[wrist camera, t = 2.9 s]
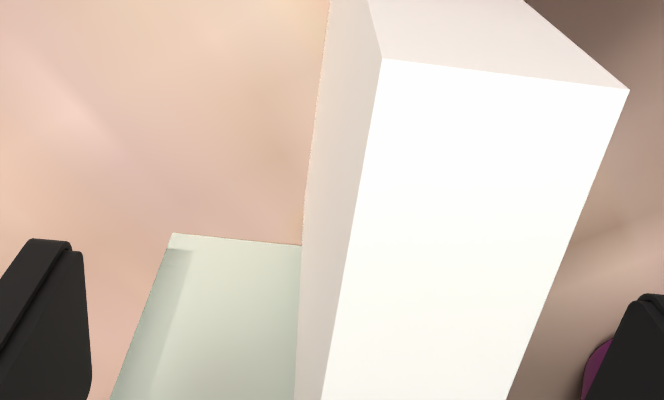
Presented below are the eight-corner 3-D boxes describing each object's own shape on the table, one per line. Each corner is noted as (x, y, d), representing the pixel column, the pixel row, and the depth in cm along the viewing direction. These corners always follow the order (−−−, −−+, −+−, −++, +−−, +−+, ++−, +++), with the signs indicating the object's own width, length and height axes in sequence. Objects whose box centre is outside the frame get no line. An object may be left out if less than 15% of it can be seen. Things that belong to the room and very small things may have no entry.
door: (342, -95, 18) (382, 58, 6) (457, -78, 18) (729, 102, 6) (304, 201, 23) (282, 612, 11) (394, 210, 23) (472, 623, 11)
